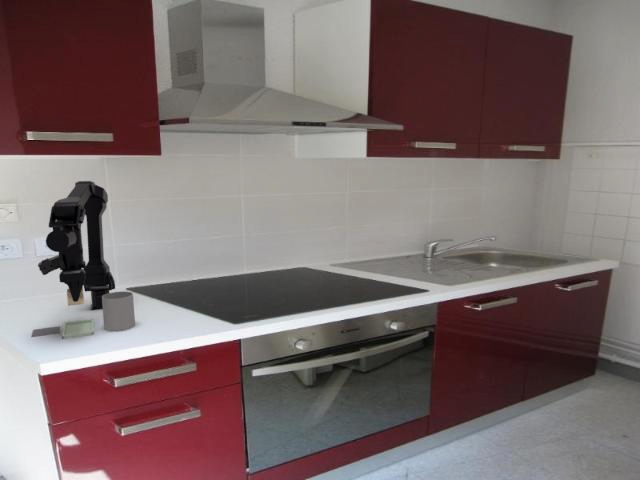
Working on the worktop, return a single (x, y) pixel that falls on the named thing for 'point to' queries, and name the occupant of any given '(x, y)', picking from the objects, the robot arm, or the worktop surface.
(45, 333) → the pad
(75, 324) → the tray
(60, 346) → the worktop surface
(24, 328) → the worktop surface
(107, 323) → the cup
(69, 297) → the letter cube
